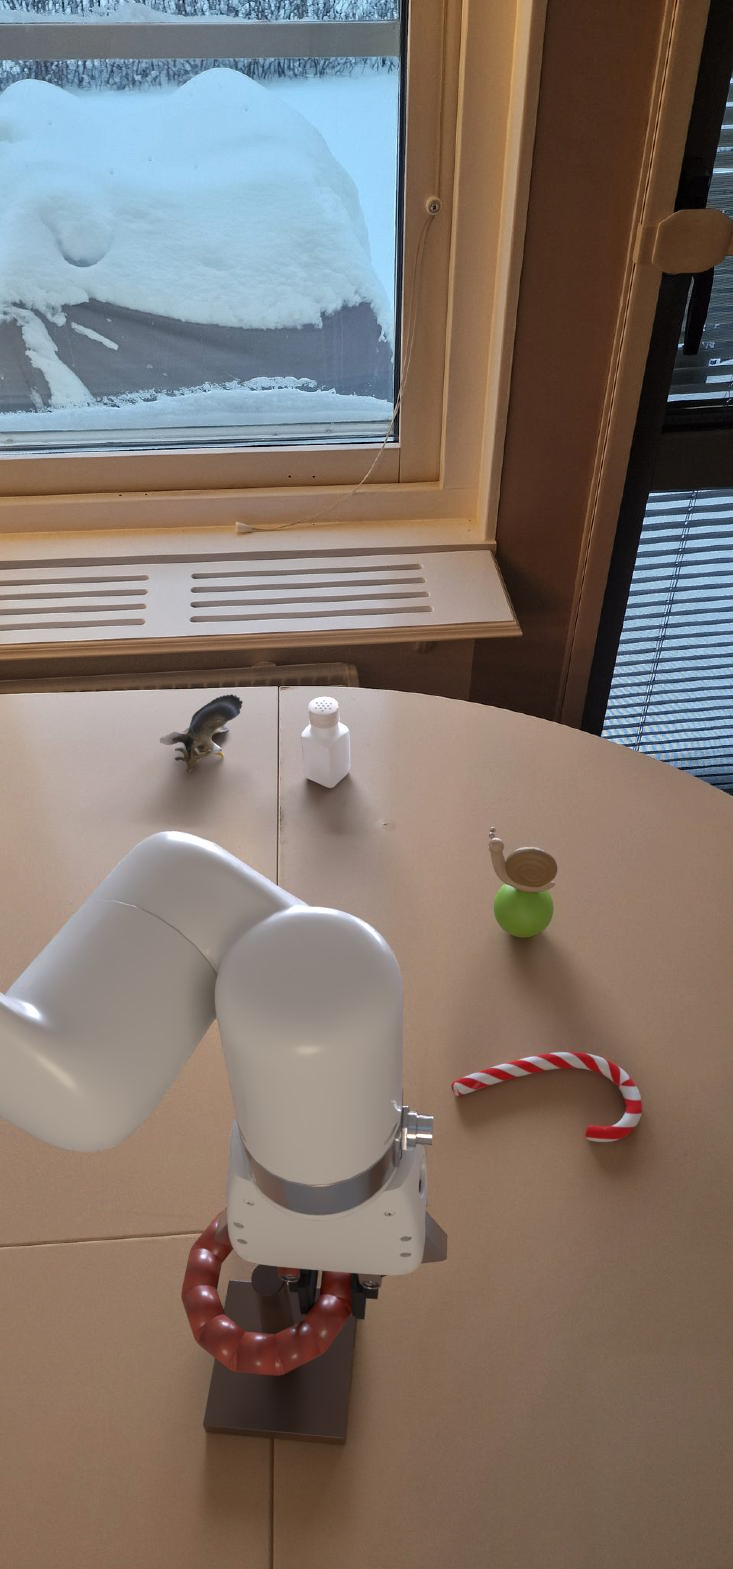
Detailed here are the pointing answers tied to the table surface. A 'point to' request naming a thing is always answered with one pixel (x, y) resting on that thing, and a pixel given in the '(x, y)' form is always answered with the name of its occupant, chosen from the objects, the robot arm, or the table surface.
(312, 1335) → the ring
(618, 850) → the table surface
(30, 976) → the robot arm
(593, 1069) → the candy cane
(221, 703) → the eagle figurine
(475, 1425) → the table surface
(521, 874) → the snail figurine
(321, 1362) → the post
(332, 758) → the pepper shaker
